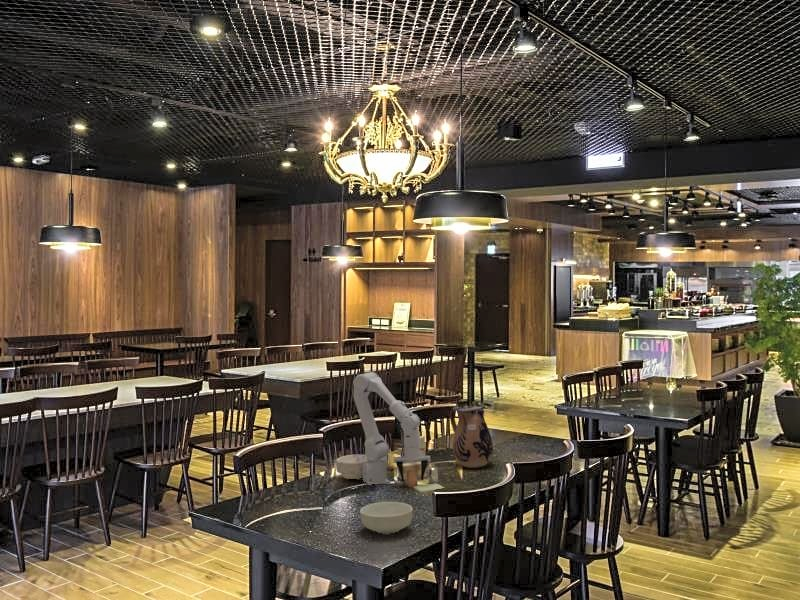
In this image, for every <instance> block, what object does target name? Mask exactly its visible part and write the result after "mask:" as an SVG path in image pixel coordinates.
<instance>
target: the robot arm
mask: <svg viewBox="0 0 800 600" xmlns="http://www.w3.org/2000/svg"><path fill="white" fill-rule="evenodd" d="M352 384H353V395H352V396H353V400H354V403H355V406H356V410H357V413H358V416H359V419H360V422H361V426H362V429H363V432H364V435H365V438H366V439H365V442H364V449H365V450H364V455H366V457H367V459H368V461H364V462H363V465H362V473H363V479H362V480H363V481H364V482H363V481H362V482H363V483H365V482H366V483H367V484H368V486H371V485H370V484H375V485H381V484H380V483H382V484H389V483H388V482H390V483H391V481H390V479H388V476H387V471H388V469H387V456H388V454H389V453H390V447H389V444H388V443H387V442H386V440H385V438H384V436H383V435H381V434H380V432H379V429H378V425H377V423H376V419H375V417H374V414H373V413H374V412H373V410H372V407H371V404H370V400H369V398H368V397H369V395H370V393H371V392H372V393H373V392H374V393H376V394H378V396H380V397H381V399H382V400H384V402H385V403H387V404H388V406H389V411H390V412H391V414H392V415H393V416H394V417H395V418H396V419H397V420H398V422H399V423H400V427H401V429H402V430H403V453H404V454H403V456H394V457H392V458H393V464H396V467H397V469H399V472H400V474H401V478H402V481H403V482H405V481H404V477H403V464H404V463H405V462H421V479H420V480H421V481H424V479H423V478H424V473H425V470H426V468H427V465H428V463H429V462H430V463H431V455H425V456H419V440H418V431H419V427H420V425H421V418H420V417H419V416H418V414H416V413H413V412H412V411H410V410H409V408H408V407H407V406H406V403H405V402H404V401H402V400H398V399H396V397H394V395H393V394H392V393H391V392H390V390H389V389H388V388H387V386H386V385H385V384H384V383H383V380H382V378H381V377H380V376H379V375H378V374H377V373H376V372H374V371H368V372H366V373H360V374H359V373H358V374H357V375H356V376H355V378H354V380H353V381H352ZM366 483H365V484H366ZM367 484H366V485H367Z"/></svg>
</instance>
